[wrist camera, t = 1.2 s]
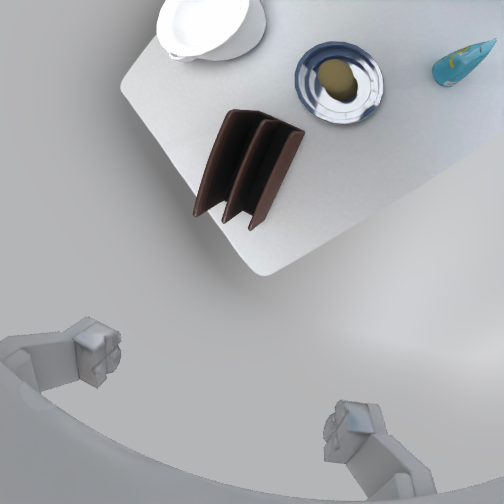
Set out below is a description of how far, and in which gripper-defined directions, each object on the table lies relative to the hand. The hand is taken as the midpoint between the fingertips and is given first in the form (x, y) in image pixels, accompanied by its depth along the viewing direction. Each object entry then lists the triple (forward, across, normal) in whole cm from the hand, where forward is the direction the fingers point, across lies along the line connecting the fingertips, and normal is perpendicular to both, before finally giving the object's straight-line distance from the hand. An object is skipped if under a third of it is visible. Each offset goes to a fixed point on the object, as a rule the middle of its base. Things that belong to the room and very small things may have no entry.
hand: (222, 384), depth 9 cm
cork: (+41, -4, -27) cm, 49 cm away
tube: (+36, -21, -35) cm, 54 cm away
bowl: (+41, -4, -27) cm, 49 cm away
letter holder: (+48, +7, -9) cm, 49 cm away
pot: (+43, +19, -36) cm, 59 cm away
